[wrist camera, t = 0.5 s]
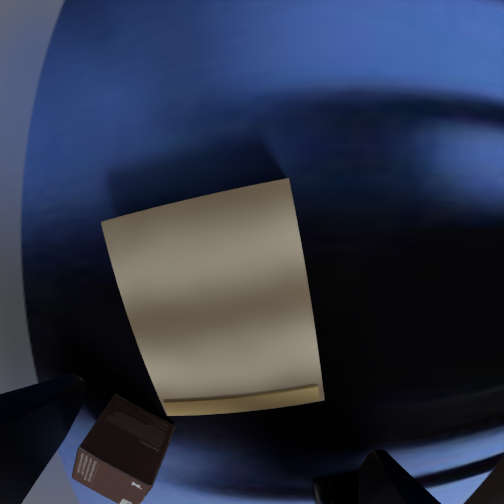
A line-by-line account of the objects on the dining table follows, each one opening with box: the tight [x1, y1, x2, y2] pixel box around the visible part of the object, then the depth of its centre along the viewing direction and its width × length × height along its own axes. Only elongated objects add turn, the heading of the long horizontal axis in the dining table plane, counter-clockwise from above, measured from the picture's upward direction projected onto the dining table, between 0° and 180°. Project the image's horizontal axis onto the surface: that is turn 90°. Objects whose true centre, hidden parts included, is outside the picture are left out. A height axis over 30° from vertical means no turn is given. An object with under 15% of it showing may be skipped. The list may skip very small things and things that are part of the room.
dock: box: [101, 178, 324, 416], centre depth 20 cm, size 14×11×3 cm
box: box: [72, 394, 175, 504], centre depth 21 cm, size 6×6×7 cm
